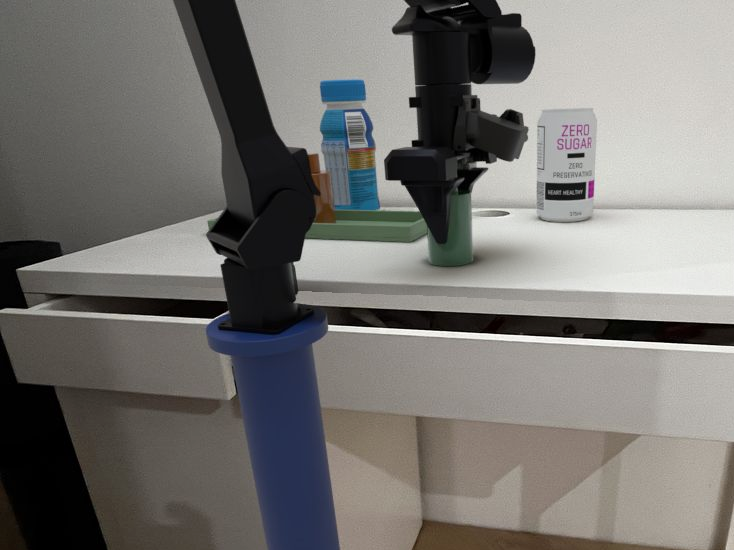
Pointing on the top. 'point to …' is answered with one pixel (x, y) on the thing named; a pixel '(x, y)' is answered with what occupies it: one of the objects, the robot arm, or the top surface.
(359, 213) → the tray
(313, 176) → the amber bottle near
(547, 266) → the top surface
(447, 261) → the green bottle
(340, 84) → the beverage bottle
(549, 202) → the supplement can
